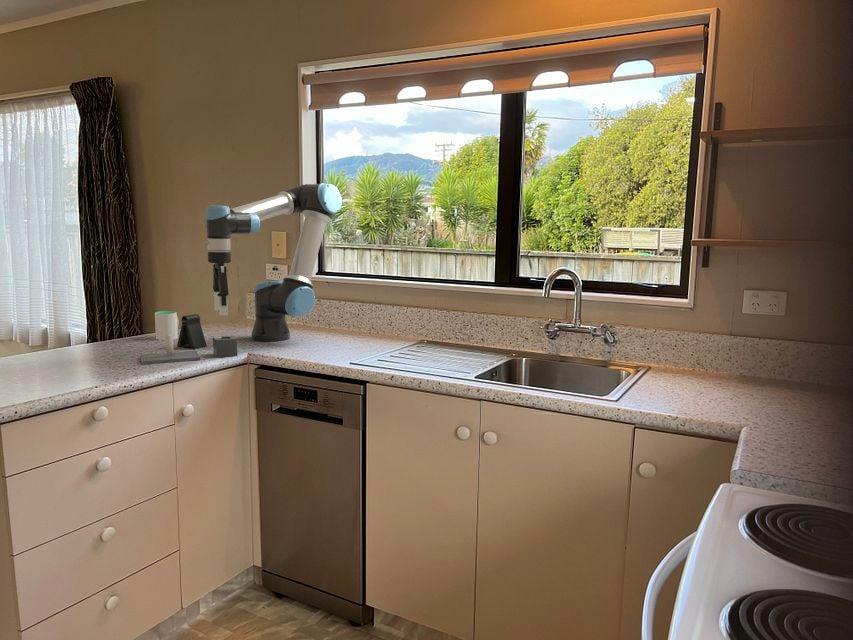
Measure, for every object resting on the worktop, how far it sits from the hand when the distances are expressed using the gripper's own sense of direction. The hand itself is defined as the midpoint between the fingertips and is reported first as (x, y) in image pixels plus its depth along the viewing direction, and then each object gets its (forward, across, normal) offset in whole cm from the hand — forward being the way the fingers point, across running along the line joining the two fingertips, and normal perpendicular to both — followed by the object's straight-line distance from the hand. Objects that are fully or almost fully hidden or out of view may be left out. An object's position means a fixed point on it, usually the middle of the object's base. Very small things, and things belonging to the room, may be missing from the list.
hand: (221, 312), depth 219 cm
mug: (+15, -42, -15) cm, 47 cm away
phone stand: (+15, -18, -8) cm, 25 cm away
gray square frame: (+15, 0, +1) cm, 15 cm away
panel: (+15, +1, -17) cm, 23 cm away
